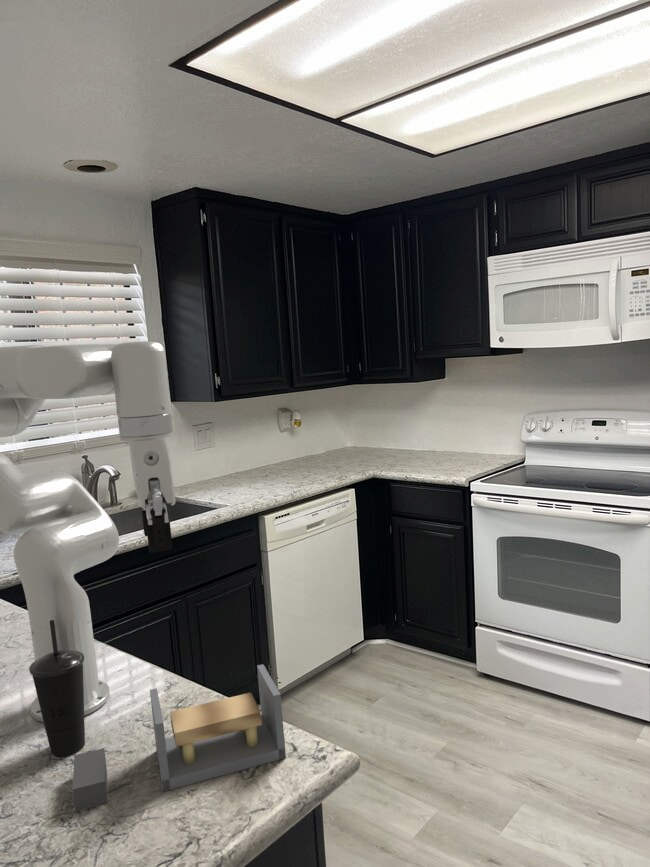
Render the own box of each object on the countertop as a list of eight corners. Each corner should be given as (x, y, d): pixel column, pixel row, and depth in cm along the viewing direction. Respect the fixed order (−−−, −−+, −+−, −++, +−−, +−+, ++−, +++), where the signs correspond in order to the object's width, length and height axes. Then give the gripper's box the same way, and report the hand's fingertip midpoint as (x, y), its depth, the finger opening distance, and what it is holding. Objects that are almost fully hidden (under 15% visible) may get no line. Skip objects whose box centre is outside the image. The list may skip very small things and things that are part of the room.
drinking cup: (40, 742, 100) (24, 617, 98) (92, 727, 103) (78, 607, 101) (40, 769, 93) (22, 636, 91) (96, 753, 96) (80, 623, 94)
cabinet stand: (156, 750, 96) (149, 689, 95) (268, 722, 101) (263, 664, 100) (162, 791, 86) (155, 724, 85) (285, 757, 92) (280, 694, 91)
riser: (76, 775, 91) (74, 755, 91) (106, 767, 93) (104, 748, 92) (75, 811, 84) (72, 789, 83) (107, 802, 85) (105, 781, 85)
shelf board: (252, 704, 98) (251, 692, 98) (261, 725, 92) (260, 711, 92) (171, 724, 94) (169, 711, 94) (176, 747, 89) (174, 733, 88)
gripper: (179, 429, 87) (191, 553, 89) (166, 421, 104) (177, 525, 106) (121, 435, 85) (134, 562, 87) (117, 426, 101) (129, 533, 103)
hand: (157, 542), depth 96 cm, fingers open, 9 cm apart
